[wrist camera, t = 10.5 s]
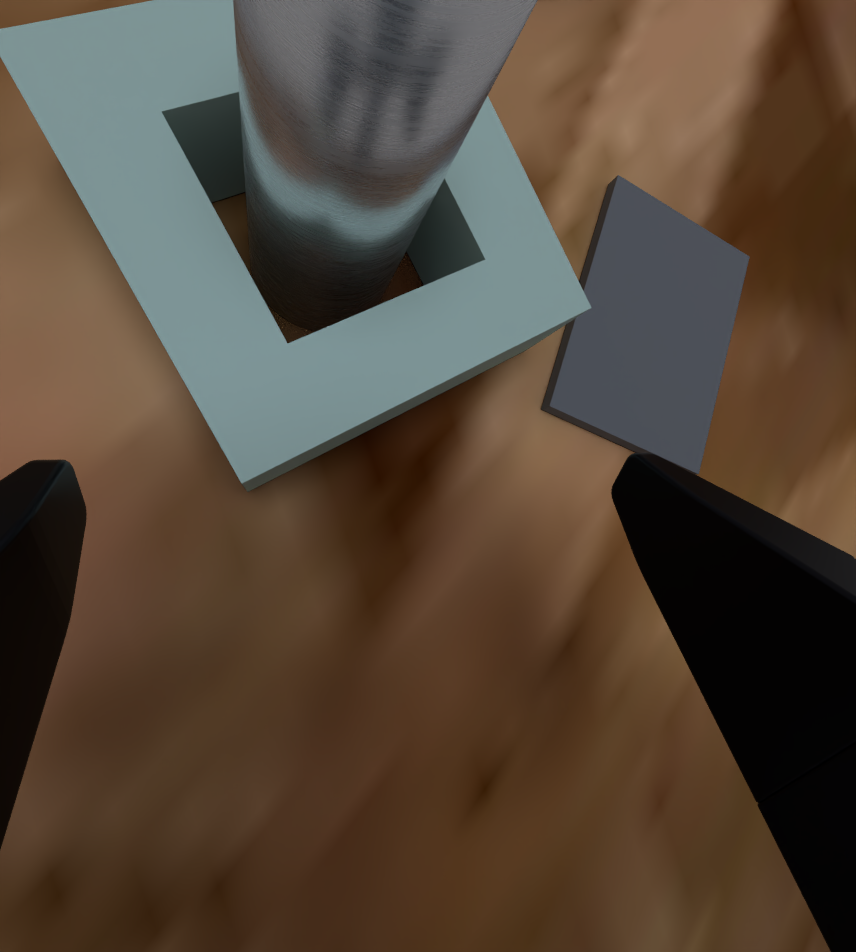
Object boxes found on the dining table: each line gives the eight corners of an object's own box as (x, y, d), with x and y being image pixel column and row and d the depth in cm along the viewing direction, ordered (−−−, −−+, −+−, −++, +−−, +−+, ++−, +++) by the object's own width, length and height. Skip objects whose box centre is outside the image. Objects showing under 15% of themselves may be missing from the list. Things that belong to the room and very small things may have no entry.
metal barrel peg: (411, 270, 18) (671, -177, 6) (329, 359, 17) (467, 12, 5) (311, 175, 17) (404, -531, 6) (218, 262, 16) (96, -397, 4)
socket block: (534, 345, 19) (601, 302, 15) (247, 492, 16) (241, 483, 12) (394, 68, 18) (428, -51, 14) (59, 157, 15) (-14, 31, 11)
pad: (686, 475, 21) (698, 474, 20) (541, 409, 19) (549, 406, 18) (737, 263, 22) (749, 256, 22) (608, 184, 21) (618, 174, 20)
